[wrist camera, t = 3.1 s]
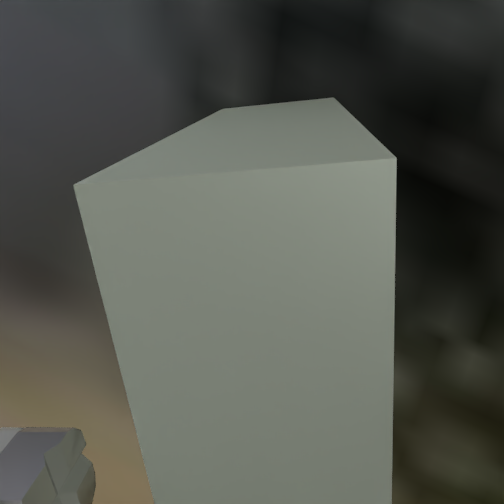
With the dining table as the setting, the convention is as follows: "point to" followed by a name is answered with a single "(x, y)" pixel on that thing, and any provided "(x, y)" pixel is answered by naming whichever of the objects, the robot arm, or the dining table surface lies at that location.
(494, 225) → the dining table surface
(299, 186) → the door panel
